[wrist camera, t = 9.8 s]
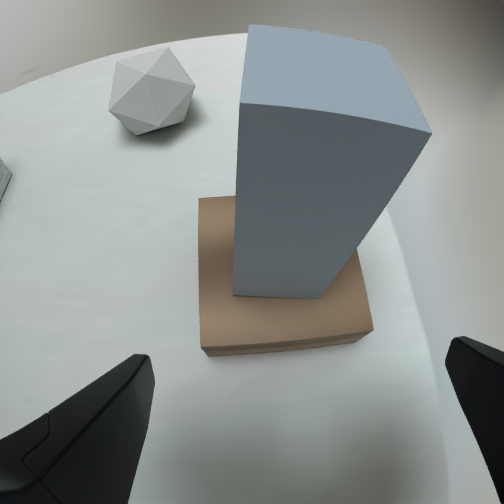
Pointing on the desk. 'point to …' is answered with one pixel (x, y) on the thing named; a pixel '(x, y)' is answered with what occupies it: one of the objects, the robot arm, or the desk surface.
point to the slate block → (315, 156)
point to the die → (150, 91)
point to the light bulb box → (3, 177)
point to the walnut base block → (269, 299)
